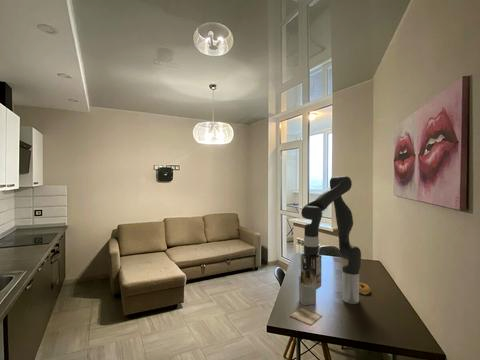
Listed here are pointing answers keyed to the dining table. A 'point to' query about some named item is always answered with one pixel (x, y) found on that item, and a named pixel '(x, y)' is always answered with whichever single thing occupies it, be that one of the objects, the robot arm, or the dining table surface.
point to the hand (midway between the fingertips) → (310, 276)
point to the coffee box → (312, 272)
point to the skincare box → (306, 294)
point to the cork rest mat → (306, 316)
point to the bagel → (364, 289)
